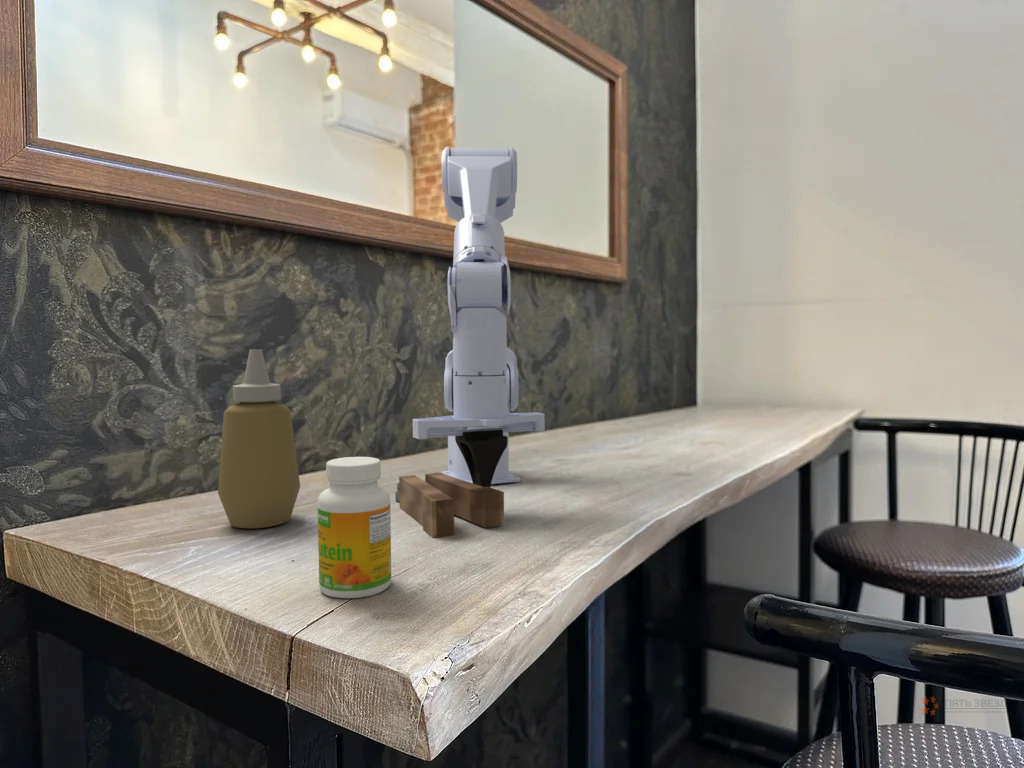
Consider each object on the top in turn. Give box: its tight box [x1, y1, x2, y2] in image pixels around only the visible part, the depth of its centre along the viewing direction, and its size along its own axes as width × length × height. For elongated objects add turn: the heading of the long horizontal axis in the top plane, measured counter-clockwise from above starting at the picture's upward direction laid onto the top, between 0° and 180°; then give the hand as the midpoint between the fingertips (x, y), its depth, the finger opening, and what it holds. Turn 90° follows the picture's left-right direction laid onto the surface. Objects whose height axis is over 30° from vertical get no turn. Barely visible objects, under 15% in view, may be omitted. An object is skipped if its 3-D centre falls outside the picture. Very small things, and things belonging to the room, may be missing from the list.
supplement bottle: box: [317, 456, 392, 599], centre depth 51 cm, size 5×5×10 cm
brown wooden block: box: [394, 474, 455, 538], centre depth 74 cm, size 18×4×4 cm, turn 25°
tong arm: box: [396, 471, 505, 528], centre depth 75 cm, size 18×4×3 cm, turn 34°
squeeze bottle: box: [217, 348, 301, 529], centre depth 70 cm, size 8×8×18 cm
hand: (481, 501), depth 73 cm, fingers closed
